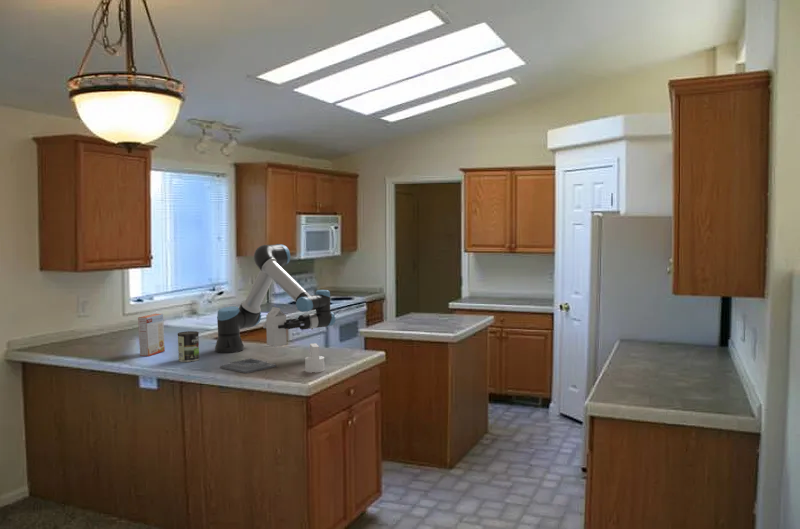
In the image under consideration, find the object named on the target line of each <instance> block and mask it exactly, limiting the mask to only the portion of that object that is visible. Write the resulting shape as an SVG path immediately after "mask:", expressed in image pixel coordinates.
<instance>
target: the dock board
mask: <svg viewBox="0 0 800 529" xmlns="http://www.w3.org/2000/svg"><path fill="white" fill-rule="evenodd" d="M249 364H254V363H253V362H248V363H244V364H243V365H249ZM276 367H277V364H275V363H271V362H267V365H262V366H258V367H253V368H248V369H243V368H238V367H234V366H230V363H226V364H221V365H220V367H219V368H220V369H225V370H230V371H234V372H238V373H243V374H250V373H254V372H258V371H263V370H268V369H271V368H276Z"/></svg>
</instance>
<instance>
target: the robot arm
mask: <svg viewBox="0 0 800 529" xmlns="http://www.w3.org/2000/svg"><path fill="white" fill-rule="evenodd" d="M253 260H254V263H255V265H256V267H257V268H258V269H259V271H258V273H257V276H256V277H255V280H254V282H253V284H252V286H251V288H250V291H249V293H248V295H247V297H246V299H245V300H243V301H241V303H240V304H239V307H238V306H227V307H226V306H225V307H222V308H220V309H219V310H218V311H217V317H216V318H217V319H216V320H217V340H216V342H215V346H214V351H215V352H216V353H221V352H230V353H236V351H238V352H242V351H243V350H244V344H243V341H242V338H241V332H240V331H241V330H242V329H243V330H244V329H247V328H248V329H249V328H253V327H255V326H257V325H259V323H260V322H261V321H262V320H261V319H262V312H261V311H262V309H261V305H262V303H263V302H264V299H265V297H266V295H267V293H268V291H269V289H270V286H271V285H272V283H273V281H274V282H275V283H276V284H277V285H278V286H279V287H280V288H281V289H282V290H283V291H284V293H286V294H287V295H288V296H289V297H290V298H292V300H293V301H295V306H296V309H297V310H298V311H299V312H302V313H307V312H312V311H315V313H307V314H300V315H299V316H298V317H297V318H289V319H288V318H287V319H286V322H284V323H281V324H272V325H271V330H279V329H286V330H292V329H298V328H299V329H300V330H302V331H303V330H314V329H317V328H327V327H332V326H334V325H335V323H336V317H335V313H334V312H333V311H331V291H330V290H328V289H317V290H316V291H315V294H314V295H311V294H309V292H307V291H306V290H305V289H304V288H303V287H302V286H301V284H299V283H298V282H297V280H295V279H294V278H293V277H292V276H291V275H290V274H289V273H288V272H287V271H286V270H285V269H284V268H283V266H286V265H288V264H289V263H290V262H291V253H290V249H289V248H288V246H286V245H284V244H281V243H275V244H263V245H260V246H259V247H257V248H256V250H255V251H254V254H253ZM262 324H263V325H262V328H263V329H266V321H265V322H262ZM241 350H242V351H241Z"/></svg>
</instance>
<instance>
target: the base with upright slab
mask: <svg viewBox="0 0 800 529" xmlns="http://www.w3.org/2000/svg"><path fill="white" fill-rule="evenodd" d="M304 365H305V366H304V368H305V370H304V371H305V372H306V373H312V372H315V373H320V372H321V373H322V372H324V371H325V356H322V355H320V346H319V345H318V343H309V356H306V357H304ZM312 374H313V373H312Z"/></svg>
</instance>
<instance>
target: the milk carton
mask: <svg viewBox="0 0 800 529" xmlns="http://www.w3.org/2000/svg"><path fill="white" fill-rule="evenodd" d="M265 316H266V317H265V318H266V319H265V320H266V321H265V322H266V328H265V329H266V345H267V346H269V347H273V348H277V347H282V346H287V329H279V330H271V325H272V324H281V323H284V322H286V320H287V315H286V314H285V312H283V311H282V310H281V307H276V306H275V307H274V306H272V307H271V309H270V310H269V312H267V314H266V315H265Z"/></svg>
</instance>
